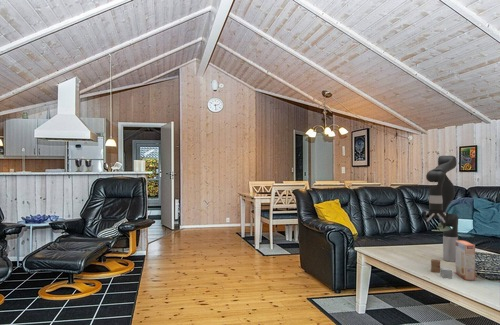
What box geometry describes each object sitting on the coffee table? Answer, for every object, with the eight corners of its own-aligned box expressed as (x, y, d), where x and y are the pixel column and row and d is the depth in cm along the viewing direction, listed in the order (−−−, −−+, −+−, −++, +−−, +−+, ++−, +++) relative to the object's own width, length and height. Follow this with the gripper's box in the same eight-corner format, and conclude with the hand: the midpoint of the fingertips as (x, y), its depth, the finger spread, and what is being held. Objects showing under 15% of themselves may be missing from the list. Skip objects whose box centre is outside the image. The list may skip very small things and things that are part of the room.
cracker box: (475, 280, 208) (475, 245, 208) (464, 280, 209) (464, 244, 209) (465, 273, 222) (465, 240, 222) (455, 273, 223) (455, 239, 223)
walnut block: (431, 270, 230) (431, 259, 230) (440, 271, 228) (440, 260, 228) (431, 272, 226) (431, 260, 226) (440, 273, 223) (440, 261, 223)
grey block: (440, 275, 218) (440, 267, 218) (449, 276, 217) (449, 268, 217) (442, 278, 213) (442, 269, 213) (452, 278, 212) (452, 270, 212)
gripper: (448, 202, 227) (448, 227, 227) (423, 201, 234) (423, 226, 234) (448, 203, 220) (448, 229, 220) (423, 202, 227) (423, 227, 227)
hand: (436, 227), depth 227 cm, fingers open, 8 cm apart
